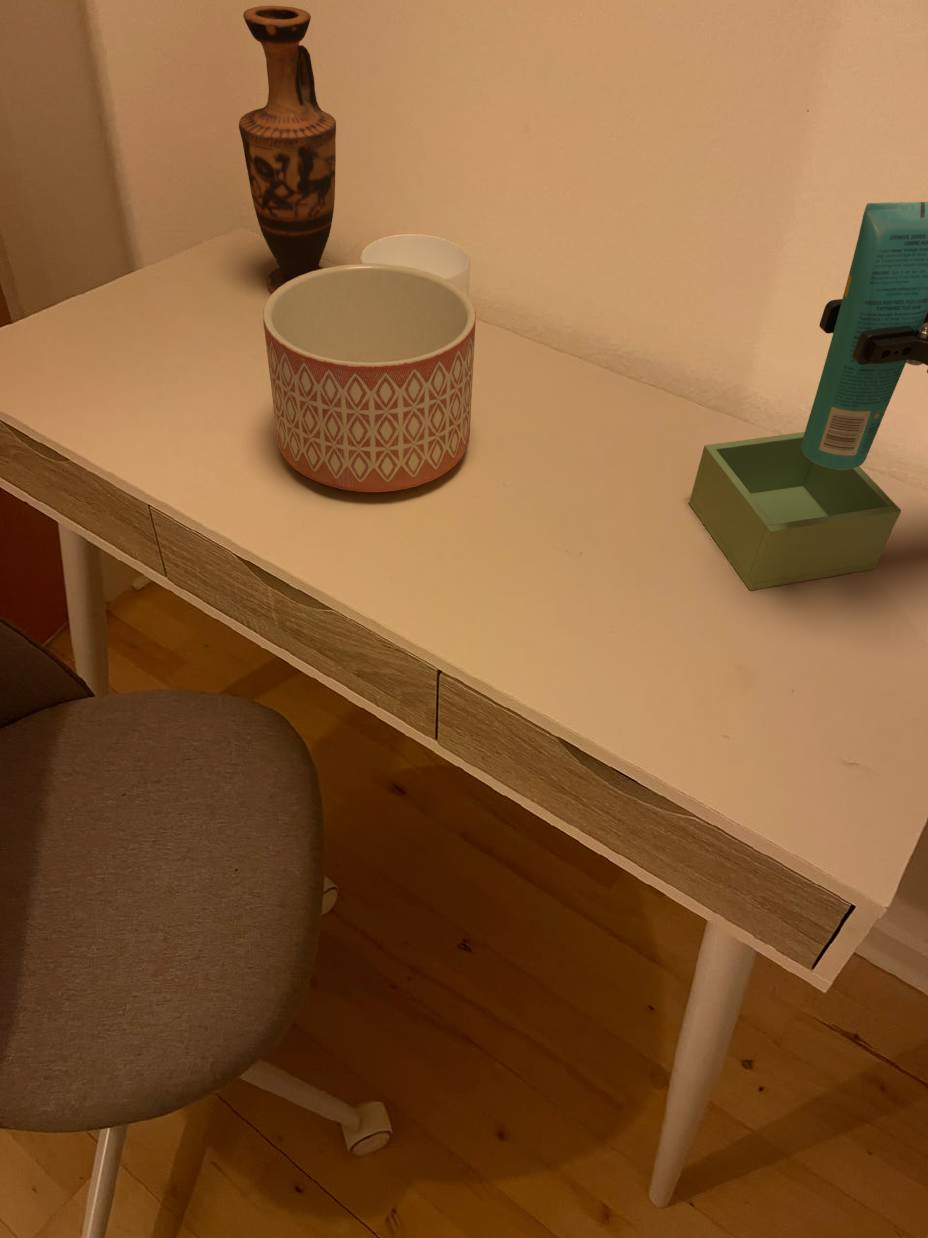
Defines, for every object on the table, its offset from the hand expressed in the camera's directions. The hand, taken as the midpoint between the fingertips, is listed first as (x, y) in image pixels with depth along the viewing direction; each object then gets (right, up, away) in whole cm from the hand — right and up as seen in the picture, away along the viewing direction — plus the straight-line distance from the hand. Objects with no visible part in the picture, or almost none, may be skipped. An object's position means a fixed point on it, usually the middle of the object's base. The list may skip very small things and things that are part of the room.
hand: (842, 332), depth 65 cm
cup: (-32, +10, +43) cm, 55 cm away
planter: (-35, -2, +31) cm, 47 cm away
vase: (-47, +22, +55) cm, 75 cm away
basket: (+3, -12, +23) cm, 26 cm away
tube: (+2, -7, +8) cm, 11 cm away
